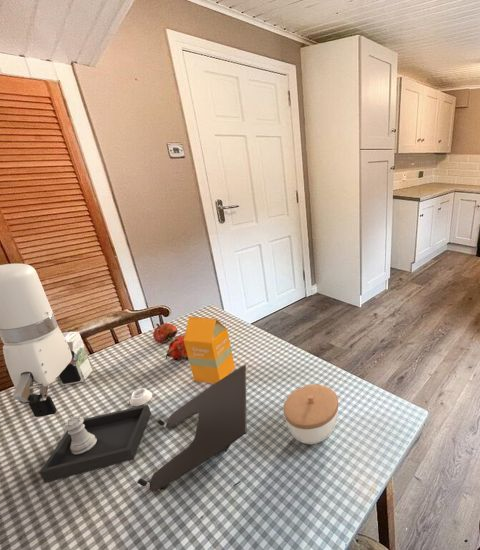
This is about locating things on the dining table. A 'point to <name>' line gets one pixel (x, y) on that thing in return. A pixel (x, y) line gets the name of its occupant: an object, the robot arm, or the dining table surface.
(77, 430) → the rook chess piece
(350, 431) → the dining table surface
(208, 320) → the orange juice
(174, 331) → the pomegranate
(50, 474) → the black tray
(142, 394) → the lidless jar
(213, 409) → the laptop stand
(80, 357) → the syrup box
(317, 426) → the lidded bowl
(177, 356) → the dragon fruit
